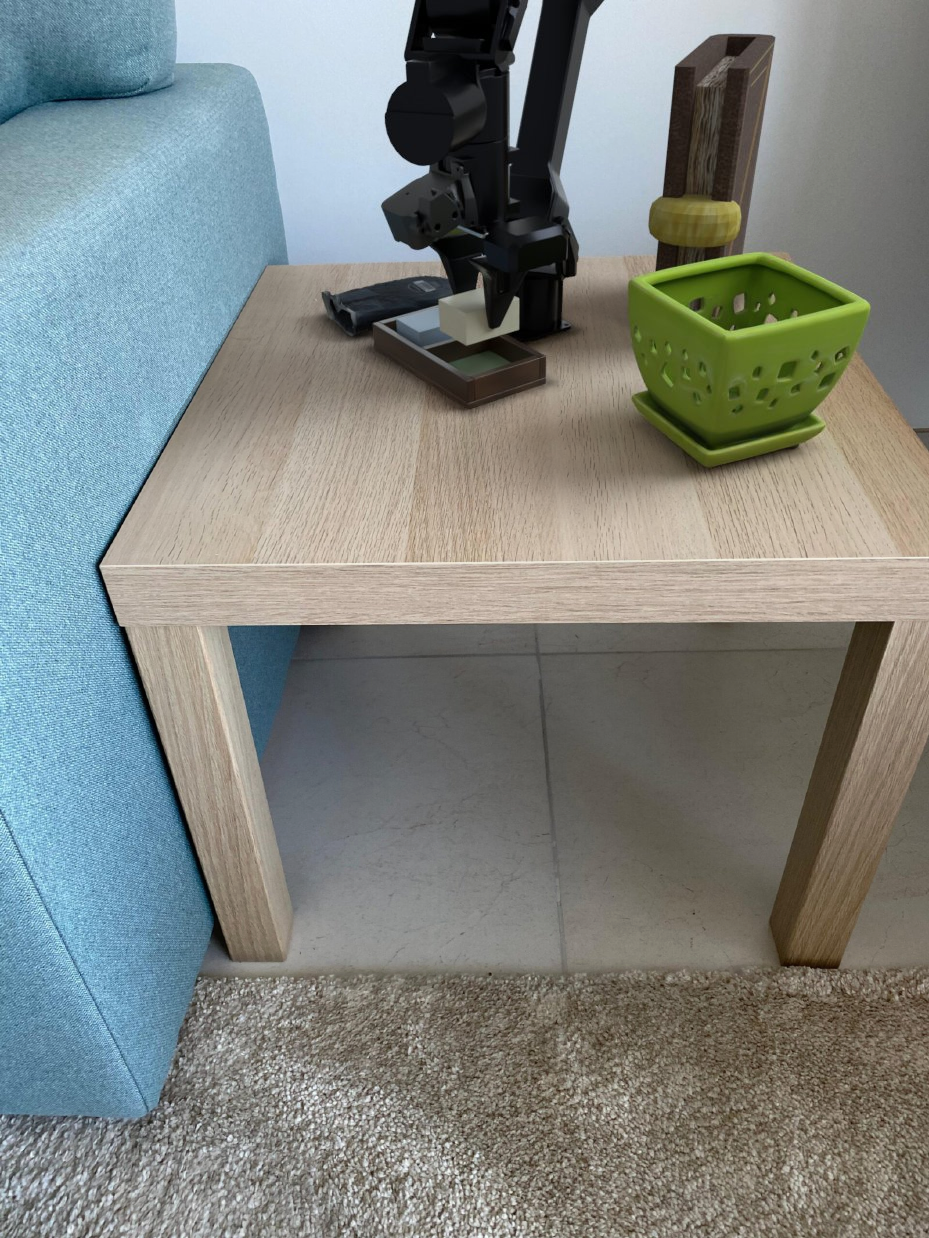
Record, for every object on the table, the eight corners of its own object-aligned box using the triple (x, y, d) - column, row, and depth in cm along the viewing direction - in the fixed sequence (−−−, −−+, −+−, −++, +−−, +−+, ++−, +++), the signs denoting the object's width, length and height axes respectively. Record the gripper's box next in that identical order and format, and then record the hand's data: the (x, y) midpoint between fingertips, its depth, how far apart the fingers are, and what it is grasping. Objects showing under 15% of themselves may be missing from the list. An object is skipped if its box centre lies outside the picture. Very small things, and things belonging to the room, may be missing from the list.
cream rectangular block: (491, 315, 91) (491, 284, 89) (519, 329, 88) (519, 298, 86) (439, 330, 88) (438, 299, 86) (466, 346, 85) (465, 313, 83)
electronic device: (360, 356, 99) (482, 309, 103) (345, 305, 96) (471, 258, 100) (331, 338, 107) (445, 294, 111) (316, 290, 104) (434, 247, 107)
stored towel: (446, 333, 99) (445, 304, 97) (470, 346, 96) (469, 317, 94) (397, 347, 96) (395, 318, 94) (421, 361, 93) (419, 332, 91)
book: (675, 281, 110) (702, 33, 94) (748, 288, 108) (789, 34, 92) (630, 354, 94) (654, 71, 79) (716, 365, 92) (758, 75, 76)
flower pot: (612, 416, 84) (622, 274, 76) (740, 386, 88) (764, 248, 80) (701, 489, 74) (725, 334, 66) (842, 451, 78) (881, 300, 70)
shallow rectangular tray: (447, 328, 101) (446, 302, 100) (546, 383, 90) (546, 355, 88) (374, 349, 97) (371, 323, 96) (467, 409, 86) (467, 381, 84)
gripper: (336, 132, 80) (355, 311, 90) (456, 175, 68) (463, 377, 78) (445, 113, 85) (452, 285, 95) (575, 150, 73) (568, 343, 82)
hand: (479, 320), depth 87 cm, fingers closed on cream rectangular block, 4 cm apart
